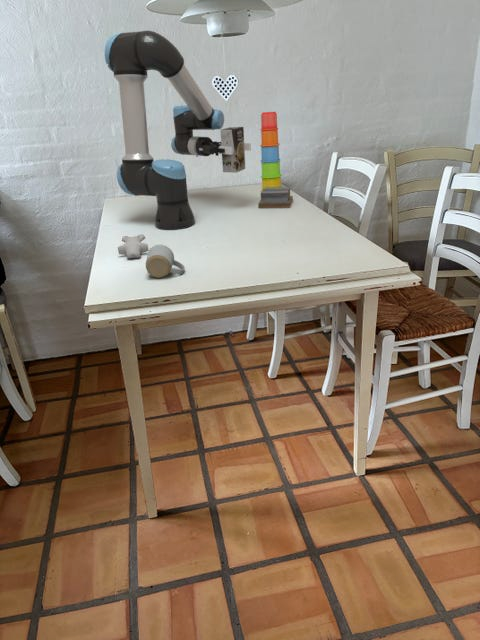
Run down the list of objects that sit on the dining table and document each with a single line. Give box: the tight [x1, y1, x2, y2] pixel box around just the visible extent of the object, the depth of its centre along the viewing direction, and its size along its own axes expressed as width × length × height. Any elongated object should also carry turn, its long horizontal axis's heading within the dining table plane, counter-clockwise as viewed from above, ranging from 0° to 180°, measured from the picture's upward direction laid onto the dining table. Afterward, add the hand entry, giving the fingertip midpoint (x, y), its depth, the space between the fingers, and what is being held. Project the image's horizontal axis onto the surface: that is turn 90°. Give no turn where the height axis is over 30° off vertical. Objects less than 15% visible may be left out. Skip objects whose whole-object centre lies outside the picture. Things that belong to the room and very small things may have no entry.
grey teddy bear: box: [117, 234, 150, 259], centre depth 155 cm, size 10×5×15 cm
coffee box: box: [220, 126, 246, 174], centre depth 189 cm, size 9×6×16 cm
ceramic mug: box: [145, 244, 185, 279], centre depth 136 cm, size 11×8×8 cm
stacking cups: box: [259, 111, 283, 193], centre depth 216 cm, size 10×10×35 cm
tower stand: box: [257, 186, 294, 209], centre depth 201 cm, size 13×13×6 cm
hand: (241, 148), depth 186 cm, fingers closed on coffee box, 10 cm apart
